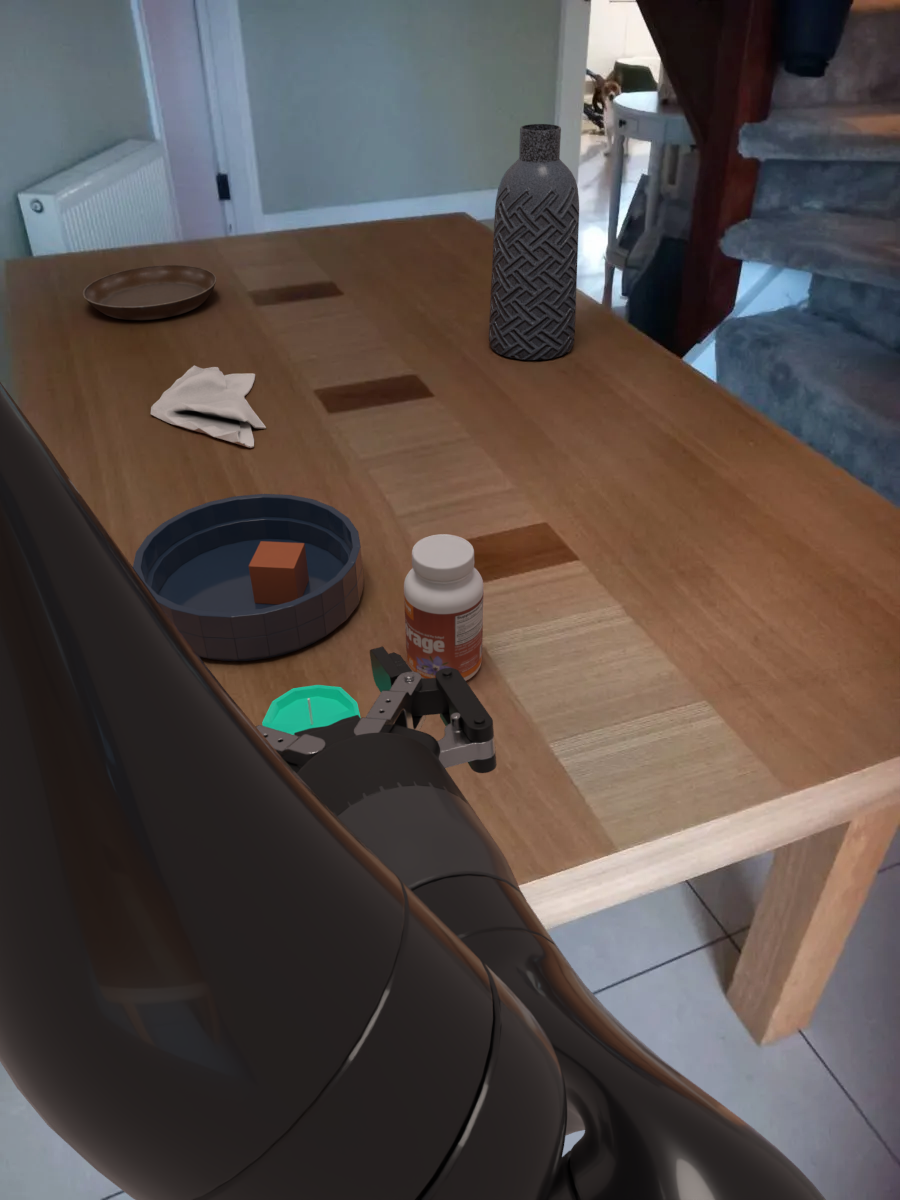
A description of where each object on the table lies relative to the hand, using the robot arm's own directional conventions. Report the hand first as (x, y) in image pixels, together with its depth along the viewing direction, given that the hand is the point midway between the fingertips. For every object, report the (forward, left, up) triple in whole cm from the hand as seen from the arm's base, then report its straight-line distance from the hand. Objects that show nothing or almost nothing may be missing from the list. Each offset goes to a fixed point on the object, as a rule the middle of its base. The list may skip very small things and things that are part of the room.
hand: (300, 683), depth 49 cm
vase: (+10, +93, -17) cm, 95 cm away
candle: (-1, +4, -17) cm, 17 cm away
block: (-10, +30, -16) cm, 35 cm away
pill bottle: (+5, +22, -17) cm, 28 cm away
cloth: (-30, +69, -17) cm, 77 cm away
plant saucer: (-51, +107, -17) cm, 119 cm away
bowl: (-13, +30, -16) cm, 36 cm away
